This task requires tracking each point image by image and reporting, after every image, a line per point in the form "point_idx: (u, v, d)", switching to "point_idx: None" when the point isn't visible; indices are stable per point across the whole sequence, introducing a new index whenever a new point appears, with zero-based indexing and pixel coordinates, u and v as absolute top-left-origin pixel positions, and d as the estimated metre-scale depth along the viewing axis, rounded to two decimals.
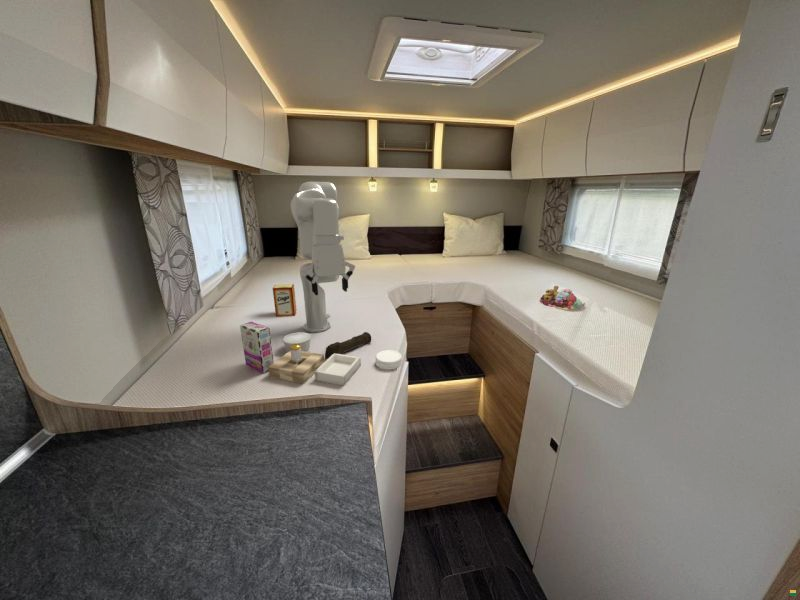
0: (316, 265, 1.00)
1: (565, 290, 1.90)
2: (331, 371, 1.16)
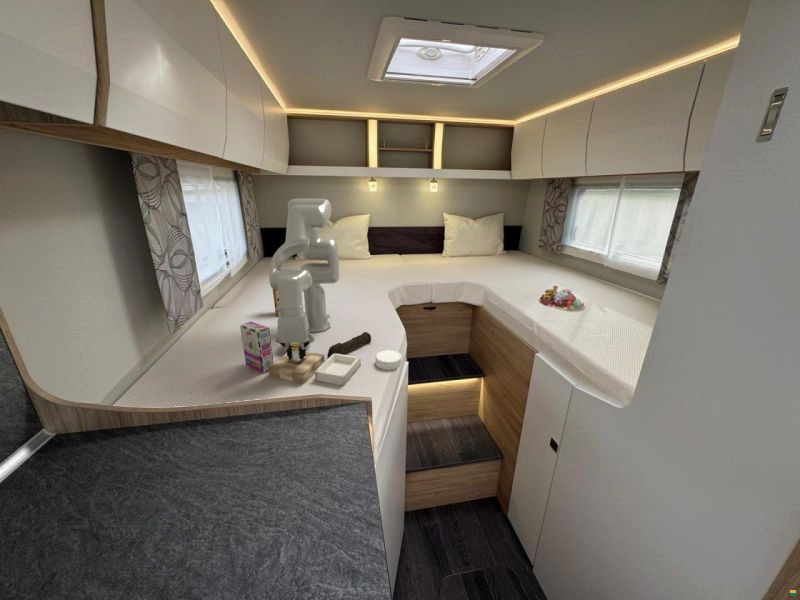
0: None
1: (564, 290, 1.90)
2: (331, 371, 1.16)
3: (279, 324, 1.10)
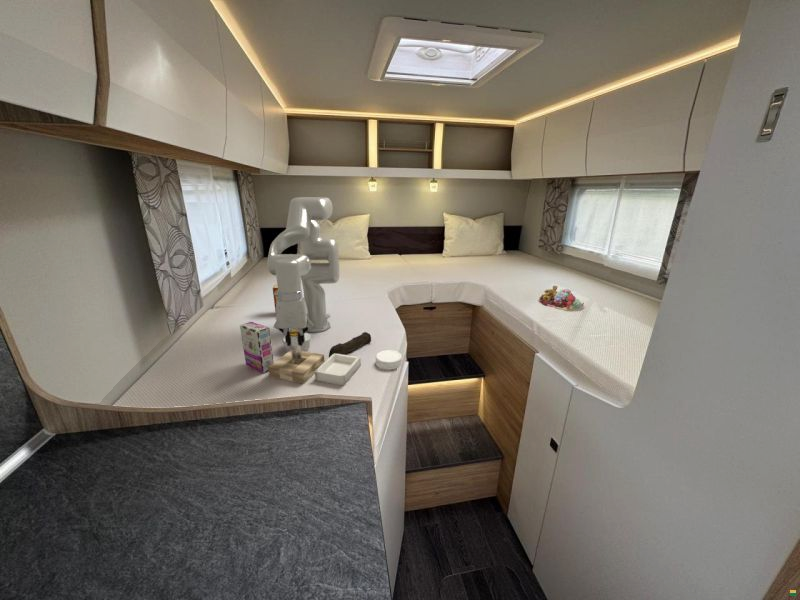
0: None
1: (564, 290, 1.90)
2: (331, 371, 1.16)
3: (277, 309, 1.08)
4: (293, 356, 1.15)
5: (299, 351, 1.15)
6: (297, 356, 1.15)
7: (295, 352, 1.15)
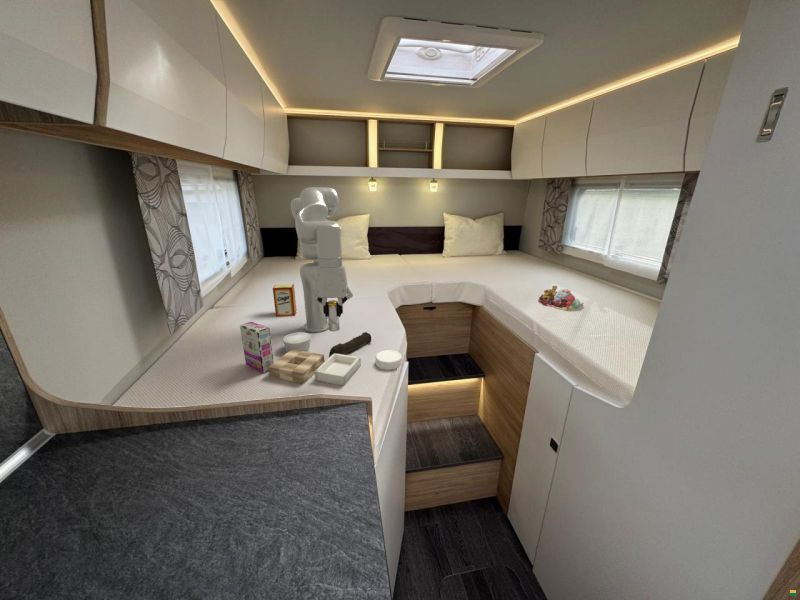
0: None
1: (563, 290, 1.91)
2: (331, 371, 1.16)
3: (317, 276, 1.03)
4: (331, 328, 1.10)
5: (337, 323, 1.10)
6: (335, 328, 1.10)
7: (333, 324, 1.09)
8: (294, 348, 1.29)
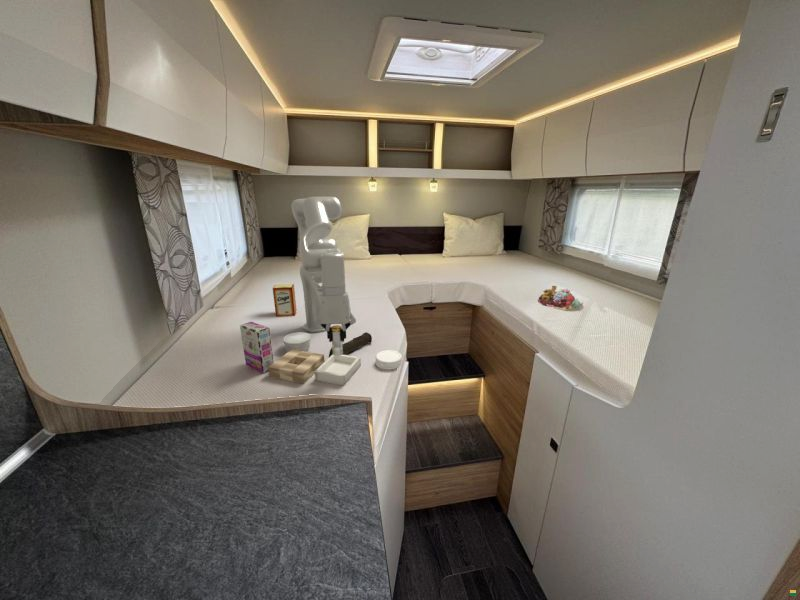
0: None
1: (563, 290, 1.91)
2: (331, 371, 1.16)
3: (321, 304, 1.06)
4: (334, 352, 1.13)
5: (341, 347, 1.13)
6: (339, 352, 1.13)
7: (337, 349, 1.12)
8: (294, 348, 1.29)
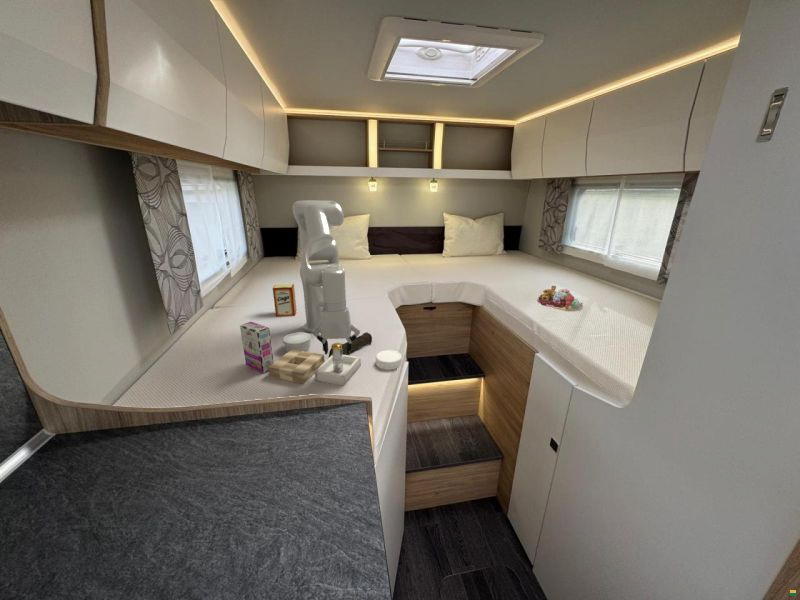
0: None
1: (563, 290, 1.91)
2: (331, 371, 1.16)
3: (322, 319, 1.08)
4: (335, 369, 1.15)
5: (341, 364, 1.15)
6: (339, 369, 1.15)
7: (338, 366, 1.14)
8: (294, 348, 1.29)
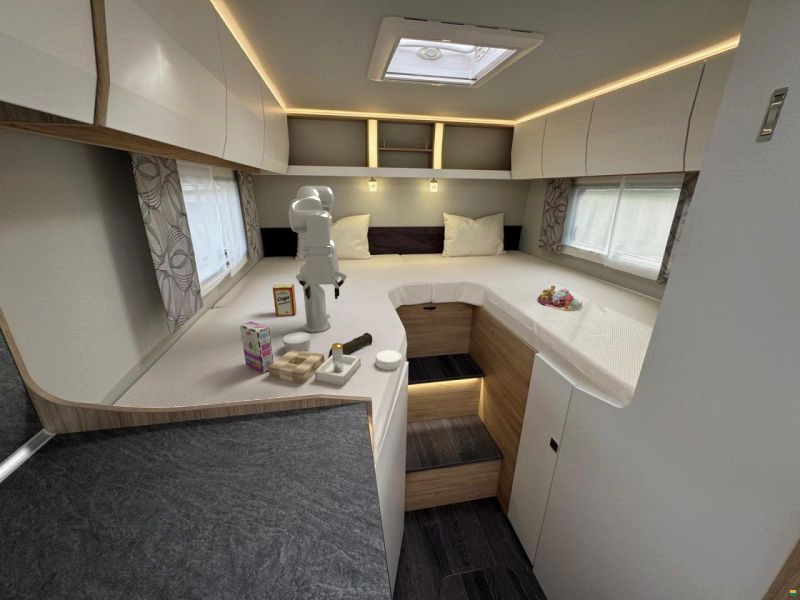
0: None
1: (562, 290, 1.91)
2: (331, 371, 1.16)
3: (307, 264, 1.08)
4: (335, 370, 1.15)
5: (341, 364, 1.15)
6: (339, 369, 1.15)
7: (338, 366, 1.14)
8: (294, 348, 1.29)
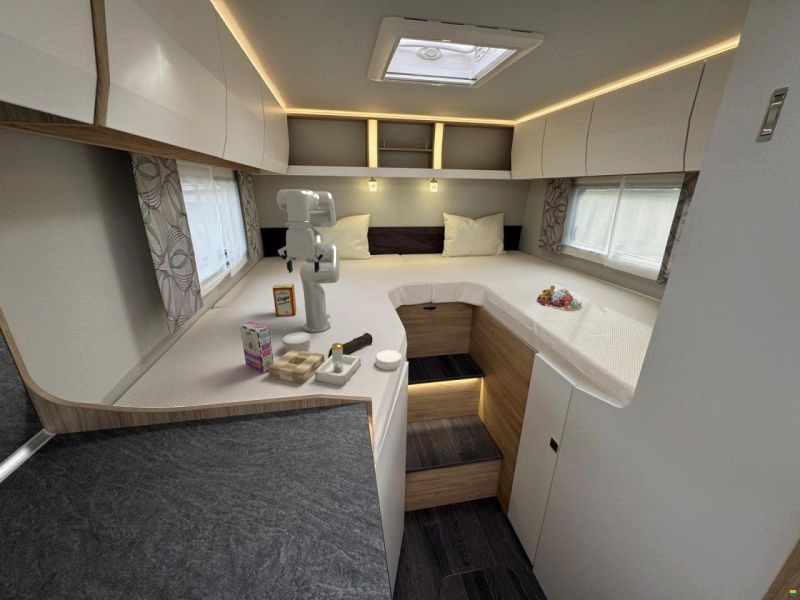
0: None
1: (562, 290, 1.91)
2: (331, 371, 1.16)
3: (288, 238, 1.16)
4: (335, 370, 1.15)
5: (341, 364, 1.15)
6: (339, 370, 1.15)
7: (338, 366, 1.14)
8: (294, 348, 1.29)
